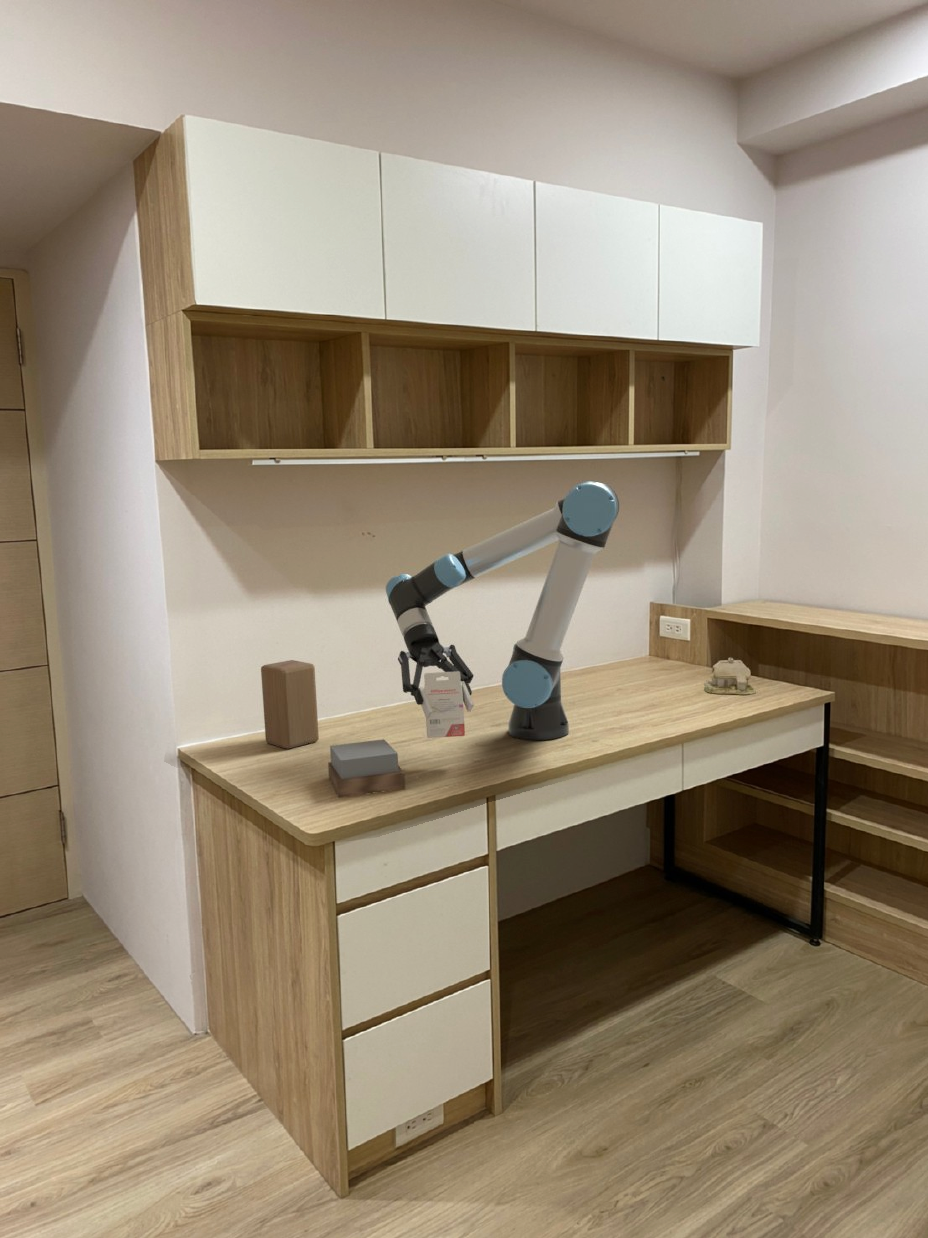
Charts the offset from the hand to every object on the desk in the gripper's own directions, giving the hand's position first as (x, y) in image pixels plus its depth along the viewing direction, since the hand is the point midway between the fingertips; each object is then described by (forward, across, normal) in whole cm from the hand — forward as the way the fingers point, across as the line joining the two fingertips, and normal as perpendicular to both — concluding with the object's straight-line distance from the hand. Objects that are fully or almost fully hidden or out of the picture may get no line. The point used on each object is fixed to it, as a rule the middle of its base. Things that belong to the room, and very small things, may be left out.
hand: (450, 711), depth 206 cm
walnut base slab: (+9, +20, -10) cm, 24 cm away
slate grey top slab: (+6, +21, -7) cm, 23 cm away
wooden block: (-20, +26, -38) cm, 50 cm away
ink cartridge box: (+2, 0, -7) cm, 7 cm away
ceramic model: (-7, -101, -28) cm, 105 cm away
